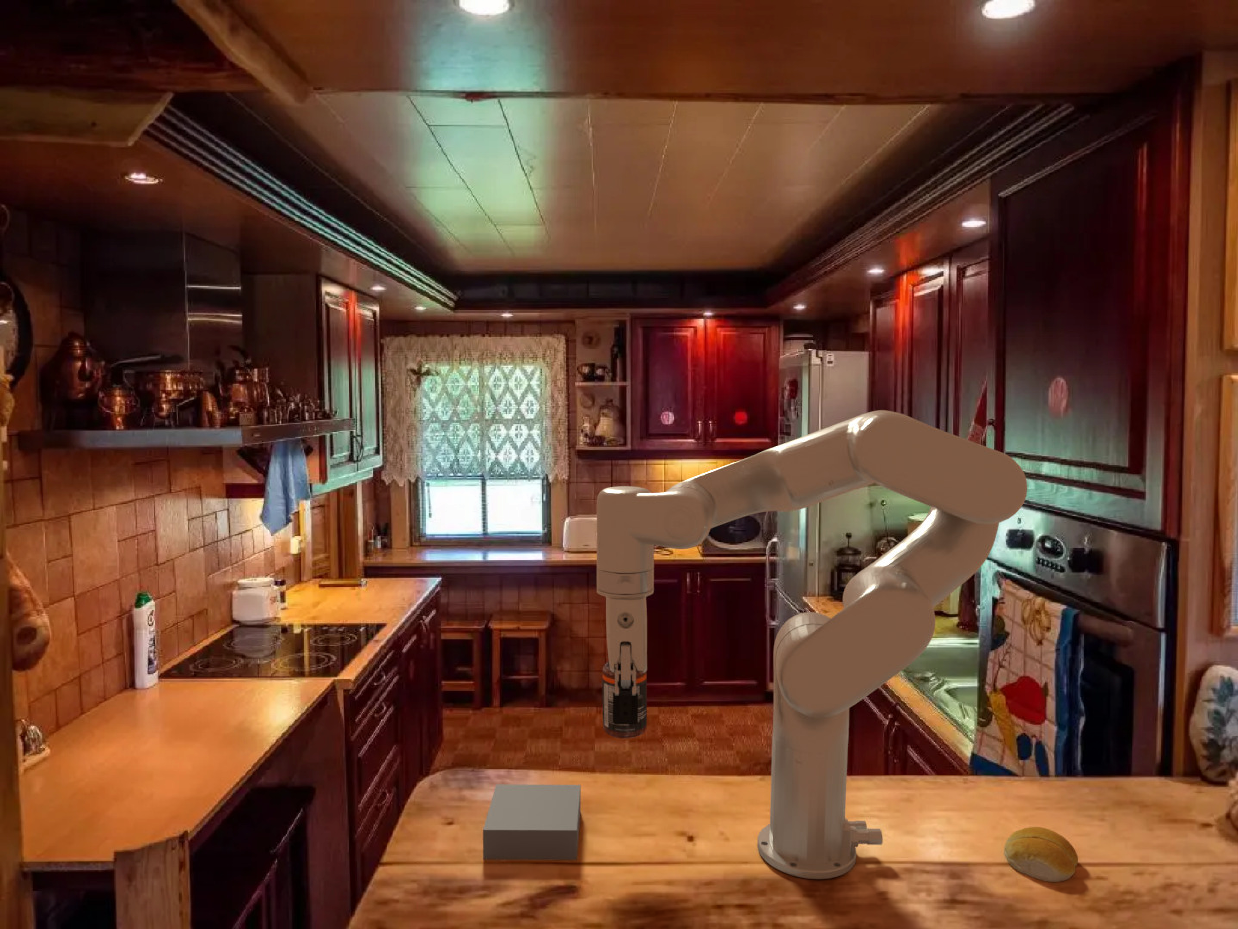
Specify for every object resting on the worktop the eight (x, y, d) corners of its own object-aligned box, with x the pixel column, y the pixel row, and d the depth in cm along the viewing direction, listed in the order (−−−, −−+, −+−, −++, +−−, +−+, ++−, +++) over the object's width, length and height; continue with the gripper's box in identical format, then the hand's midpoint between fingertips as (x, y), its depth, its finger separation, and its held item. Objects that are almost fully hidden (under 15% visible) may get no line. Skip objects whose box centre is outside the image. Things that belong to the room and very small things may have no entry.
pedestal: (580, 811, 118) (580, 785, 117) (576, 860, 106) (576, 830, 105) (496, 811, 118) (496, 784, 117) (483, 859, 106) (482, 830, 105)
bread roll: (1079, 858, 108) (1082, 829, 107) (1070, 892, 100) (1073, 861, 100) (1011, 837, 112) (1012, 809, 112) (997, 868, 105) (999, 838, 105)
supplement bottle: (617, 718, 114) (617, 639, 113) (654, 727, 111) (655, 646, 110) (594, 734, 109) (593, 651, 108) (632, 744, 106) (633, 658, 105)
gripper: (657, 597, 100) (656, 741, 101) (650, 566, 117) (650, 689, 119) (595, 597, 100) (595, 741, 101) (598, 566, 117) (598, 689, 119)
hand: (624, 712), depth 110 cm, fingers closed on supplement bottle, 6 cm apart
